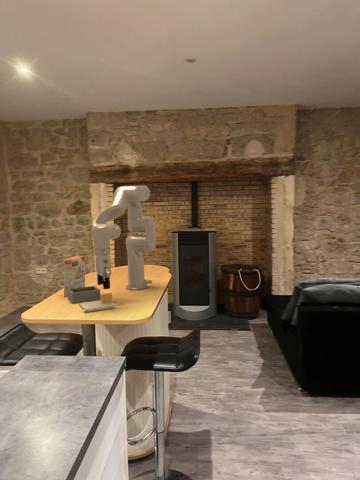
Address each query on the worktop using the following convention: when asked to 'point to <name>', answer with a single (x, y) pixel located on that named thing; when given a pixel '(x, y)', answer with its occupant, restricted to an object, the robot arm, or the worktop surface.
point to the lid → (99, 303)
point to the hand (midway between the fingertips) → (103, 286)
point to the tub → (84, 294)
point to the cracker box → (73, 273)
